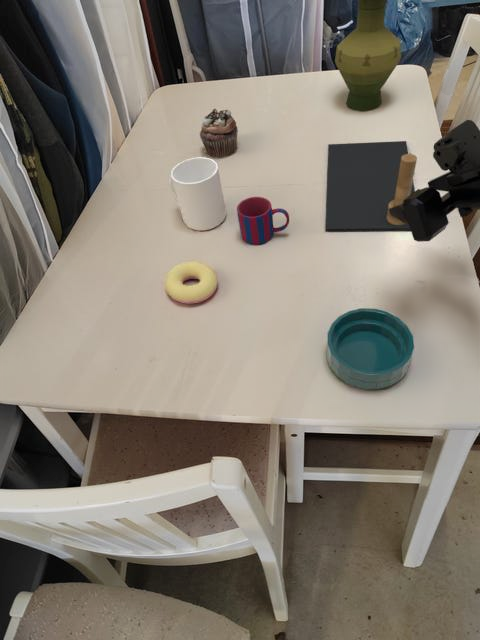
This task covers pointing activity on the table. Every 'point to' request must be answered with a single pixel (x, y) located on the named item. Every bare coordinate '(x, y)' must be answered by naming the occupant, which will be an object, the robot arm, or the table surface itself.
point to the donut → (196, 291)
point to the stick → (403, 184)
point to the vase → (367, 56)
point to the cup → (258, 220)
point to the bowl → (369, 348)
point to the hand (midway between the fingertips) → (410, 198)
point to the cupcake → (219, 134)
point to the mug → (198, 193)
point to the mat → (362, 186)
